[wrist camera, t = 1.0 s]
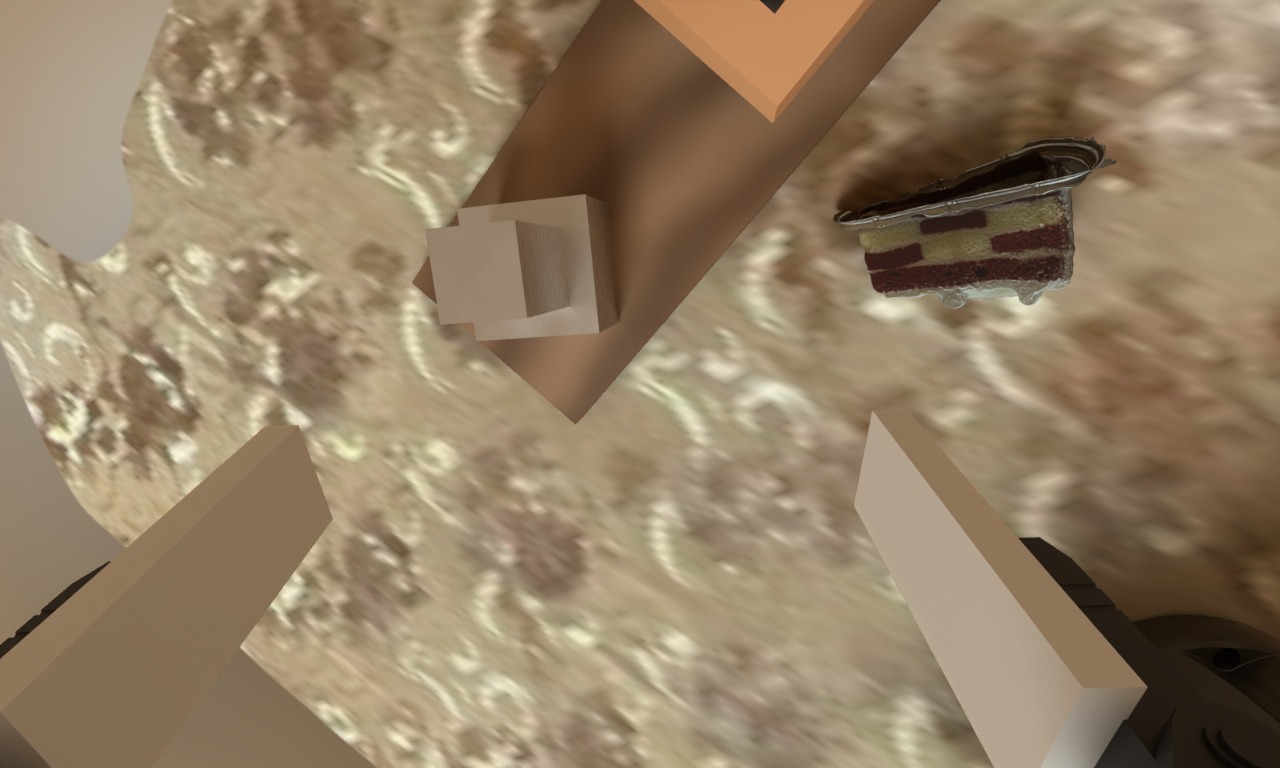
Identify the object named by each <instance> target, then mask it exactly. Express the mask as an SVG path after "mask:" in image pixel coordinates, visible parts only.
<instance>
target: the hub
mask: <svg viewBox="0 0 1280 768" xmlns="http://www.w3.org/2000/svg"><path fill="white" fill-rule="evenodd" d="M457 213H458V220H459V226H454V227H444V228H435V229H426V230H425V232H426V238H427V244H428V250H429V257H430V263H431V269H432V275H433V282H434V288H435V294H436V300H437V307H438V313H439V319H440V325H441V324H455V323H469V322H474V329H475V336H476V341H486V340H502V339H517V338H532V337H547V336H563V335H578V334H593V333H601V332H602V331H604V330H606V329H608V328H610V327H612V326H614V325H615V324H617V323H619V318H618V308H617V297H616V286H615V275H614V264H613V254H612V243H611V232H610V221H609V210H608V204H607V203H604V202H602V201H600V200H598V199H595V198H593V197H591V196H588V195H586V194H583V195H575V196H566V197H557V198H548V199H539V200H531V201H522V202H513V203H504V204H495V205H487V206H478V207H469V208H460V209H457Z"/></svg>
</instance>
